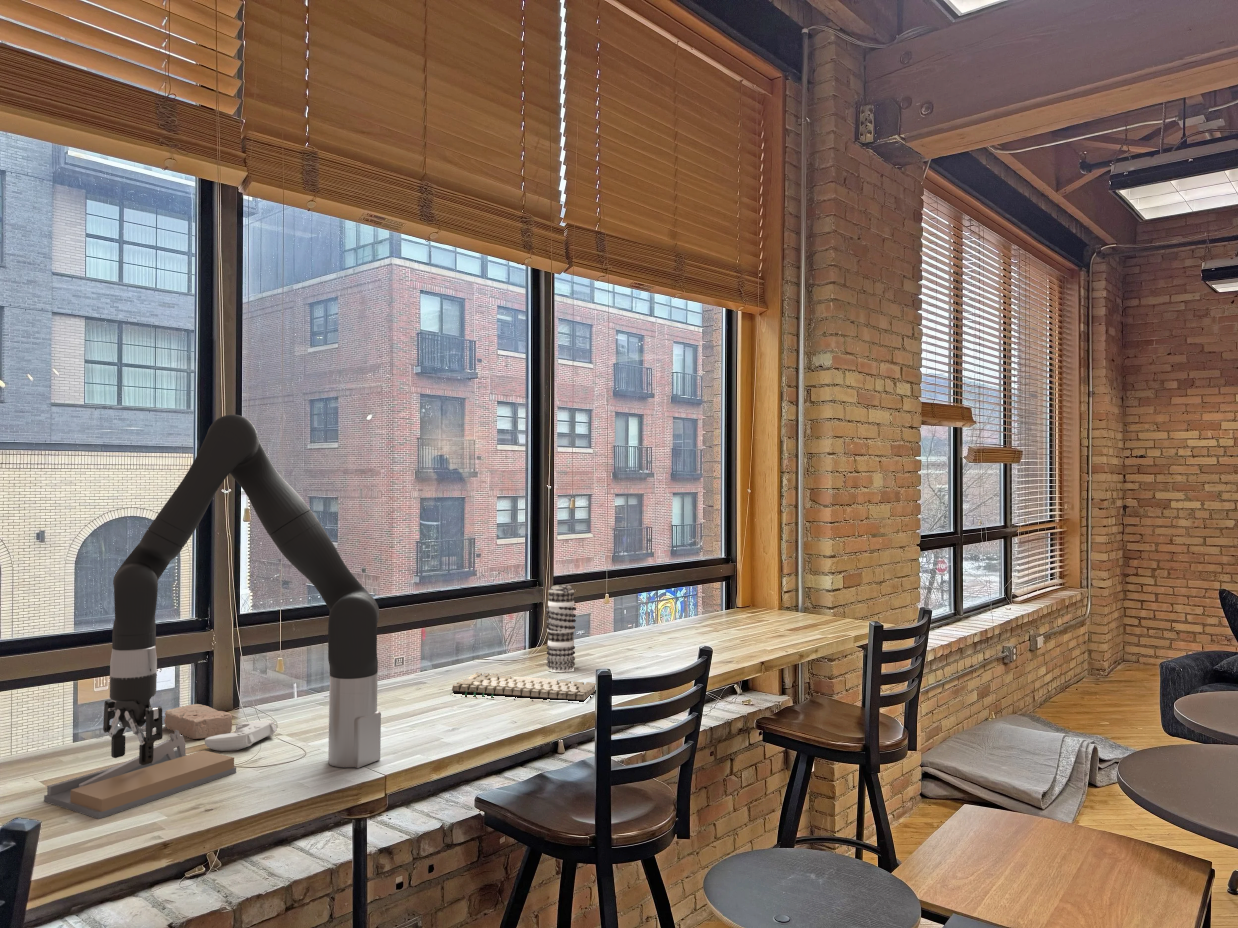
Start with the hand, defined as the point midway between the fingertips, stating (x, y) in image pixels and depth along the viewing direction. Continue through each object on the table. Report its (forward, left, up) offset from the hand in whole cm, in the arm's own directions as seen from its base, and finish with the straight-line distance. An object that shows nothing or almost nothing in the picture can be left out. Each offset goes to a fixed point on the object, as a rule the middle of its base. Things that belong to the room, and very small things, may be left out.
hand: (131, 760), depth 158 cm
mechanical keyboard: (-23, -93, -5) cm, 96 cm away
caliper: (0, 0, -3) cm, 3 cm away
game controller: (+3, -26, -5) cm, 27 cm away
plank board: (-4, 0, -4) cm, 6 cm away
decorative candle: (-17, -121, -4) cm, 122 cm away
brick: (+20, -27, -5) cm, 34 cm away
